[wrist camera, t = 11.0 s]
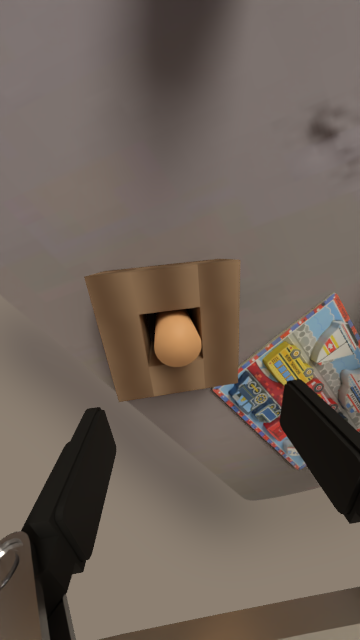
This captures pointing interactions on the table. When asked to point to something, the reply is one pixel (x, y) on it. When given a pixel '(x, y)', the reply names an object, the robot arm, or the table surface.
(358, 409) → the puzzle board
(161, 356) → the peg
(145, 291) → the socket block
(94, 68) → the table surface
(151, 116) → the table surface
